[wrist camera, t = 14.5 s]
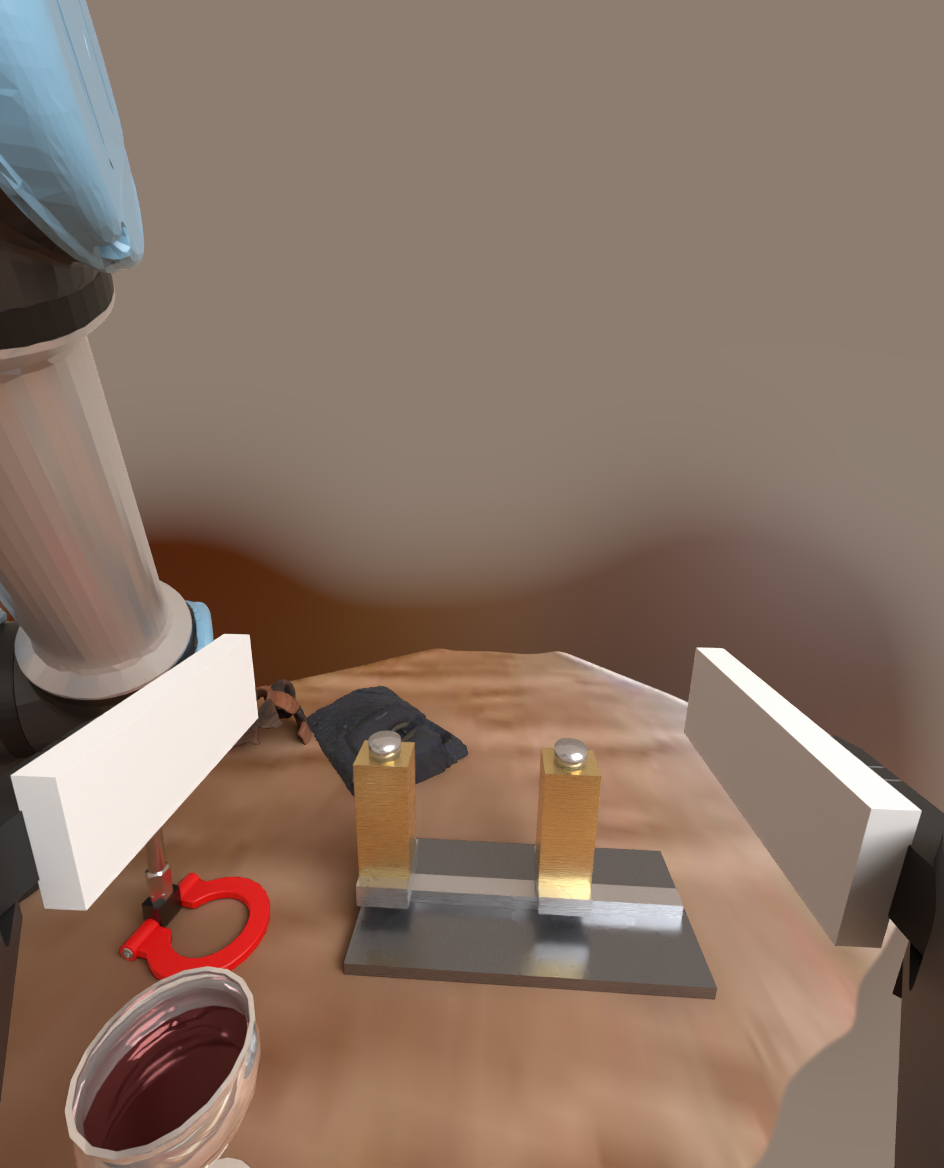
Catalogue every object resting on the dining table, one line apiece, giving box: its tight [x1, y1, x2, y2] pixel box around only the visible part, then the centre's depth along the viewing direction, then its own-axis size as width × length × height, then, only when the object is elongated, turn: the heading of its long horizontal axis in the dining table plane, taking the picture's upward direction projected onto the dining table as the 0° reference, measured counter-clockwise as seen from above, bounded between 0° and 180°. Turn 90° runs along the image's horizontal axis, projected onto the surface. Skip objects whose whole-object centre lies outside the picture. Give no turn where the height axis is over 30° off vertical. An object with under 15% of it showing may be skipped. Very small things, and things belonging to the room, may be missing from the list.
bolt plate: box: [344, 731, 717, 999], centre depth 38 cm, size 26×12×15 cm, turn 87°
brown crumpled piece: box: [233, 679, 311, 747], centre depth 64 cm, size 12×10×8 cm
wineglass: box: [65, 966, 261, 1168], centre depth 22 cm, size 7×7×12 cm
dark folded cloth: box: [307, 686, 468, 796], centre depth 64 cm, size 15×22×5 cm
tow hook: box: [120, 826, 270, 980], centre depth 36 cm, size 8×13×9 cm
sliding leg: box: [534, 738, 601, 917], centre depth 39 cm, size 4×7×14 cm, turn 177°
